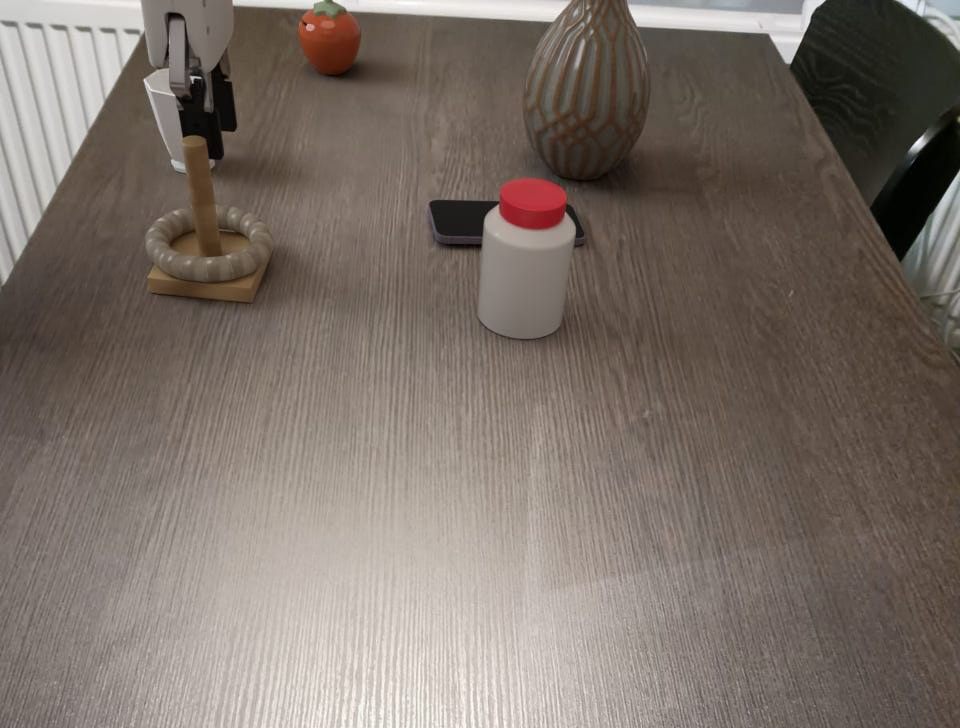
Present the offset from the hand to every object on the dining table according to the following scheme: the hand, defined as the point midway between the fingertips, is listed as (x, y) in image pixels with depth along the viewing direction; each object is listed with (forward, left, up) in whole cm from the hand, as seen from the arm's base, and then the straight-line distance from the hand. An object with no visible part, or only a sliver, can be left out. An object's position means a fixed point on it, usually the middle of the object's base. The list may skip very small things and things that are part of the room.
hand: (212, 140), depth 84 cm
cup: (-7, +16, -9) cm, 20 cm away
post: (0, -5, -9) cm, 11 cm away
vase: (+33, +23, -9) cm, 41 cm away
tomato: (+3, +42, -9) cm, 43 cm away
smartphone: (+26, +8, -9) cm, 29 cm away
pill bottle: (+28, -7, -9) cm, 30 cm away
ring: (0, -5, -7) cm, 8 cm away
